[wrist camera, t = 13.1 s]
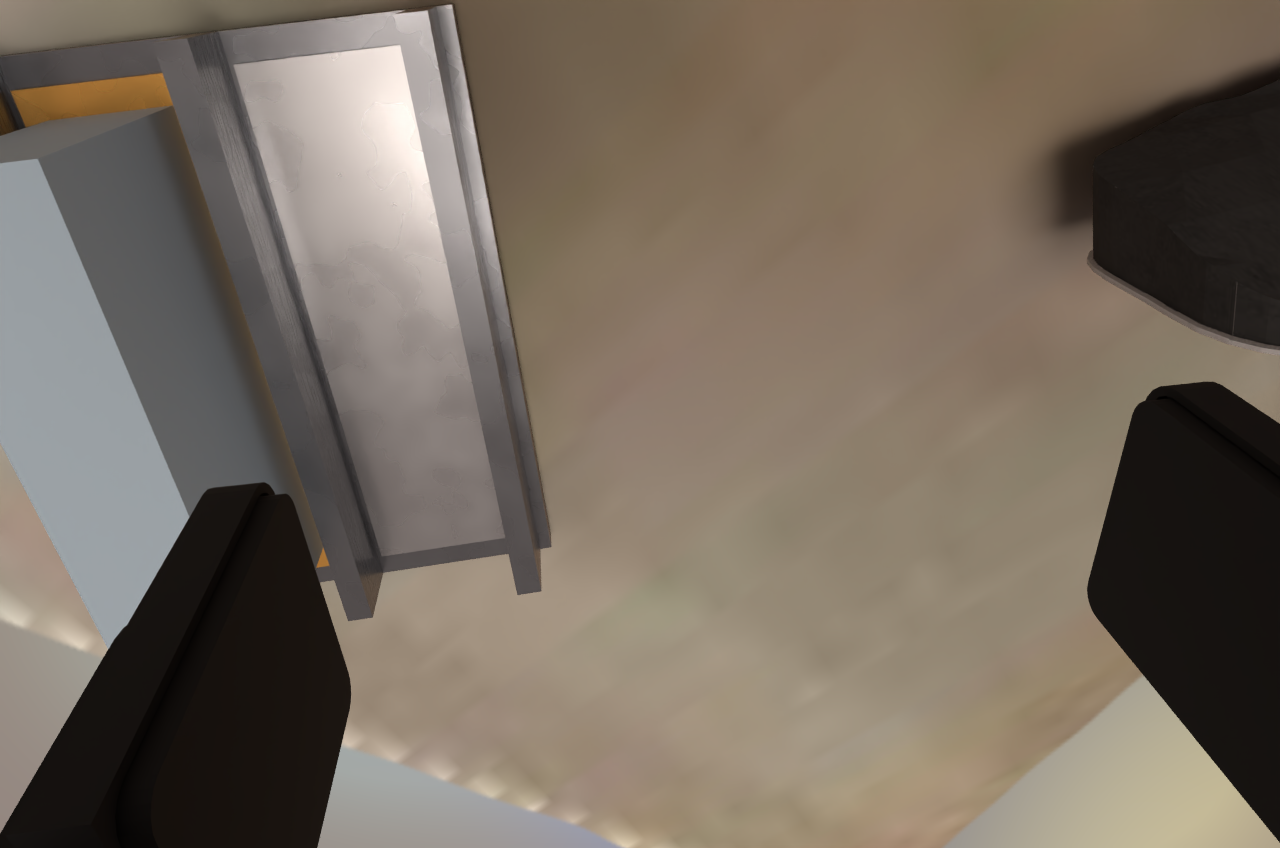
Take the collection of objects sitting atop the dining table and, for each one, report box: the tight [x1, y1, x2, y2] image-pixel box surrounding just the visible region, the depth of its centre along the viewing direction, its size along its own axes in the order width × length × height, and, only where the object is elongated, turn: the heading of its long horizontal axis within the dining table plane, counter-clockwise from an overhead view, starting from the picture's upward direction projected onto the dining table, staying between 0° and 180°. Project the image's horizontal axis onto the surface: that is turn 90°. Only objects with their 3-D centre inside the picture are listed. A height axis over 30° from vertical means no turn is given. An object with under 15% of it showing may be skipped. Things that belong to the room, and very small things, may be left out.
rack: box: [0, 4, 551, 621], centre depth 32 cm, size 22×16×4 cm
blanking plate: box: [0, 105, 323, 649], centre depth 29 cm, size 18×4×9 cm, turn 6°
